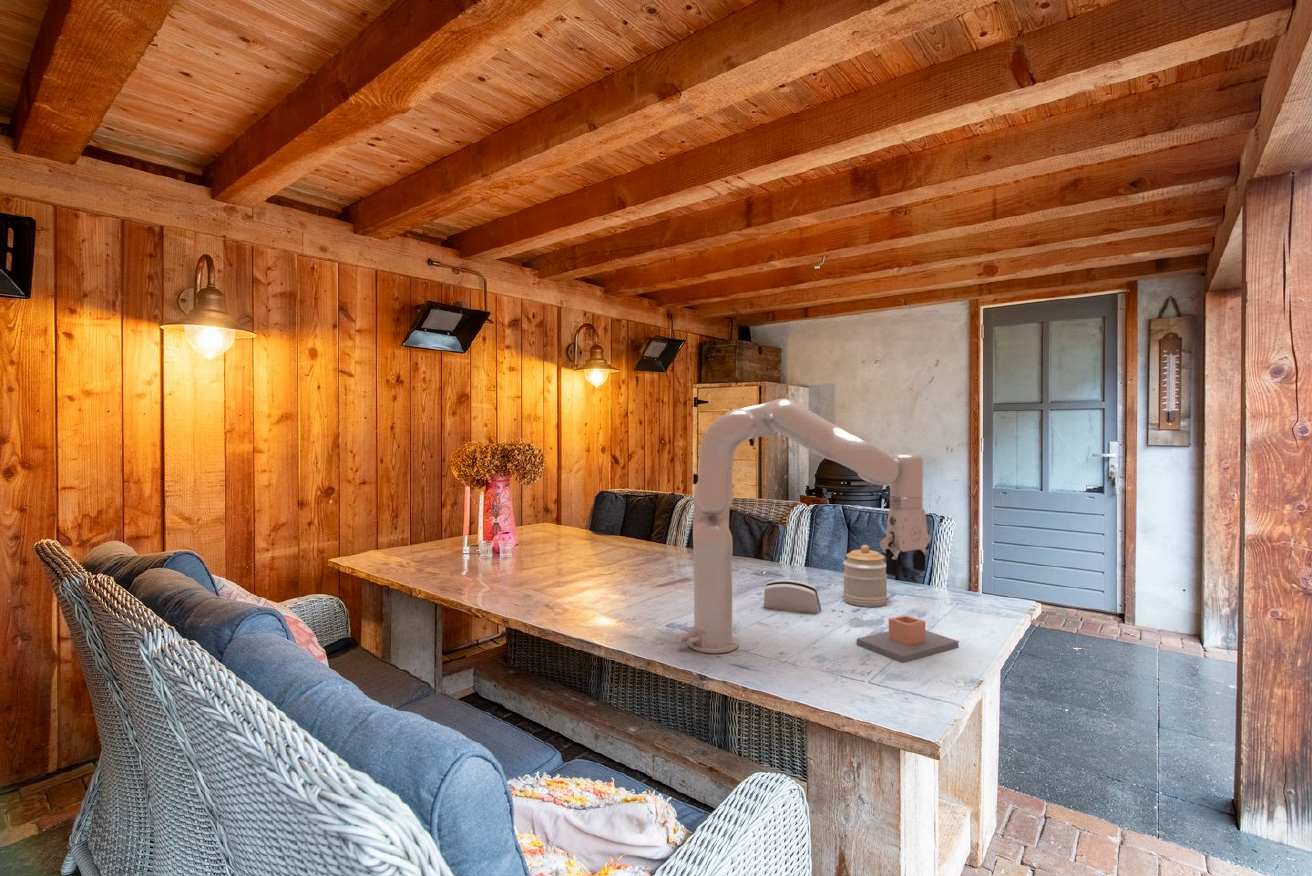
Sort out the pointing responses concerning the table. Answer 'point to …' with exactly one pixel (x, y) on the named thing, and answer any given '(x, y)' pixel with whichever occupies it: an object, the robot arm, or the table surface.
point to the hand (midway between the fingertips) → (905, 572)
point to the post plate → (905, 652)
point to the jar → (865, 578)
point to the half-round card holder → (791, 596)
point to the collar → (907, 630)
